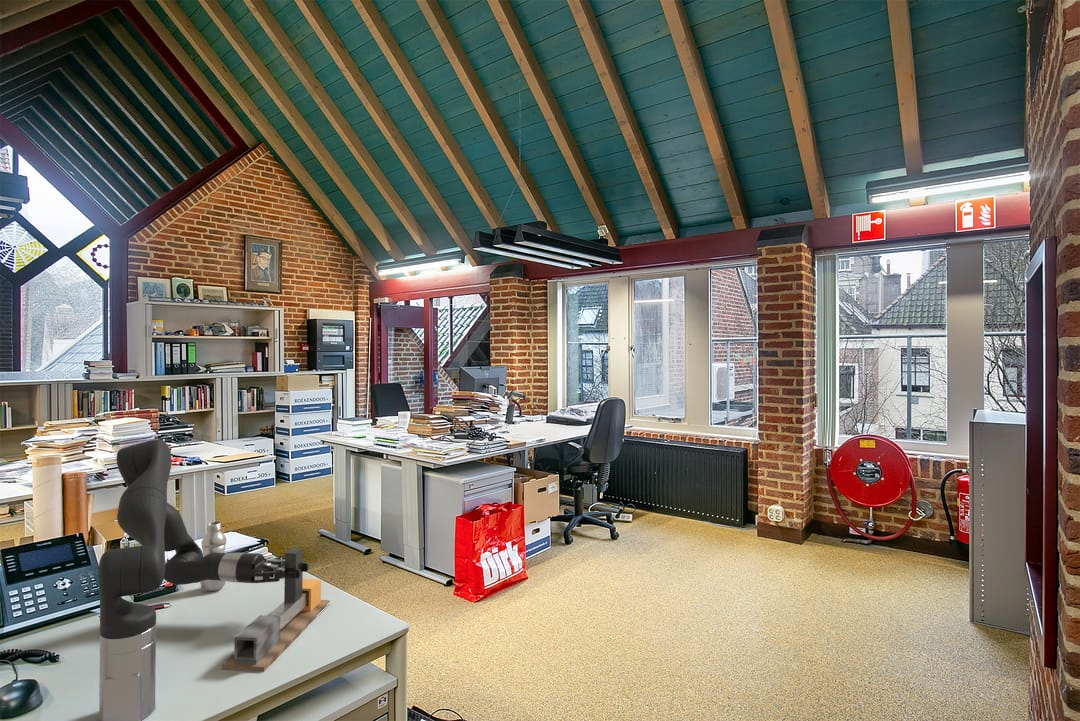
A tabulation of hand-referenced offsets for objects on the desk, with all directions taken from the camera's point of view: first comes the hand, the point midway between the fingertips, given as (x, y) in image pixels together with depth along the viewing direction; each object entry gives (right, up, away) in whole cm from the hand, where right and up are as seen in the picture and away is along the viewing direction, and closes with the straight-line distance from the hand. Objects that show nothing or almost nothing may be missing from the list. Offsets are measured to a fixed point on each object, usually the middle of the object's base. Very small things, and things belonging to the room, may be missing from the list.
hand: (303, 570), depth 159 cm
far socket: (-3, -13, +8) cm, 15 cm away
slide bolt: (-3, -11, -4) cm, 12 cm away
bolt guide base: (-3, -14, -6) cm, 16 cm away
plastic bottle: (-35, -13, +20) cm, 43 cm away
